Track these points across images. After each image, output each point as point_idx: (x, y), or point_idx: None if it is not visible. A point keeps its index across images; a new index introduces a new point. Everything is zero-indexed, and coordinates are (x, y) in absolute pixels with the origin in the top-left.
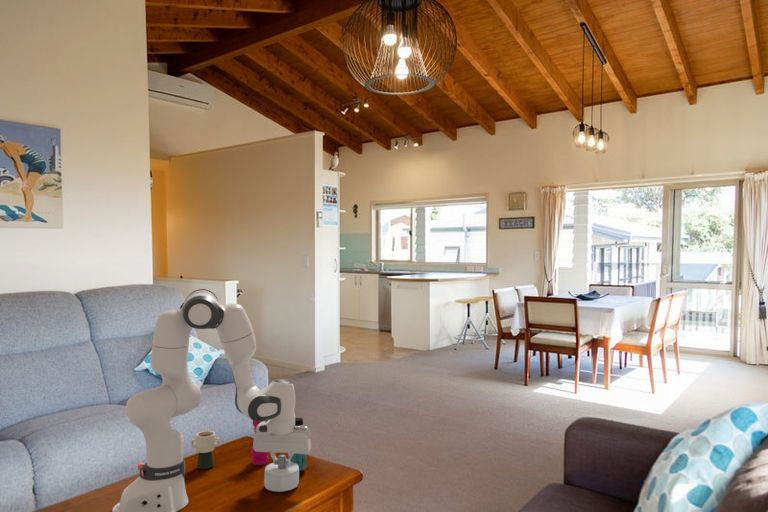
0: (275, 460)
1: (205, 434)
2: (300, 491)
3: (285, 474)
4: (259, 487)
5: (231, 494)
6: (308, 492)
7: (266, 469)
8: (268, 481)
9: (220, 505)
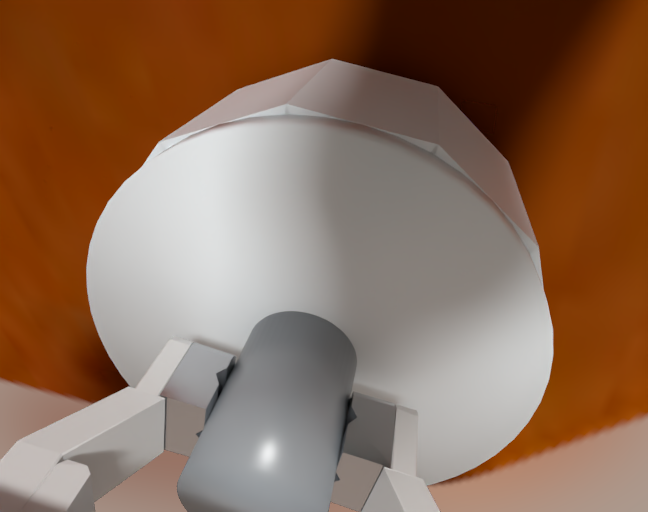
0: (171, 445)
1: None
2: None
3: None
4: None
5: (6, 280)
6: (578, 384)
7: (124, 361)
8: None
9: (24, 386)
